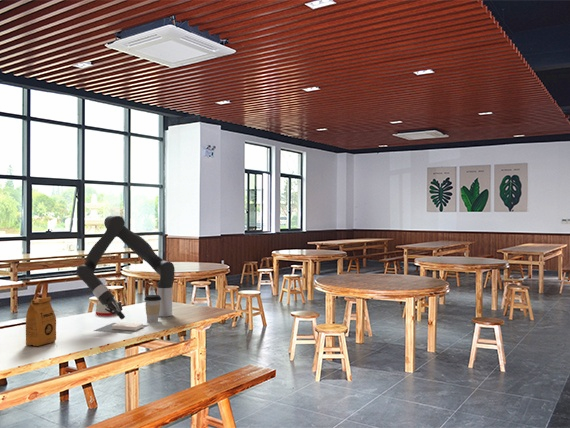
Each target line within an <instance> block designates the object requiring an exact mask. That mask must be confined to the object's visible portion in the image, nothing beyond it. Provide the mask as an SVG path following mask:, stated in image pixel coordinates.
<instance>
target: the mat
mask: <svg viewBox="0 0 570 428" xmlns="http://www.w3.org/2000/svg"><path fill="white" fill-rule="evenodd" d="M116 323H117V322H112V323H109V324H106V325H104V326H101V327H99V328H97V329H94V330H93V332H99V333H101V332H102V333H114V334H127V335H131V334H134V333H136V332H138V331H141V330H143V329H144V328H147V327H149V324H143V327H142V328H141V329H139V330H136V331H129V330H116V329H112V325H114V324H116Z"/></svg>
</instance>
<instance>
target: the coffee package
mask: <svg viewBox="0 0 570 428" xmlns="http://www.w3.org/2000/svg"><path fill="white" fill-rule="evenodd" d="M51 300H52V296H46V297H42V298H37V299H32V300H30V301H31V302H30V303H29V306H28V308H27V312H26V317H25V345H26V346H31V345H33V347H40V346H44V345H49V344H51V343H55V342H56V340H57V318H56V314H55V310H54V308H53V307H52V302H51Z"/></svg>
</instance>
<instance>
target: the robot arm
mask: <svg viewBox="0 0 570 428" xmlns="http://www.w3.org/2000/svg"><path fill="white" fill-rule="evenodd" d="M125 223H126V222H125V219H124V217H122V216H120V215H109V216H106V217H105V219H104V222H103V224H104V227H105V229H106V230H105V232H104V233H103V234H102V236H101V237H100V238H99V239H98V241H97V242H95V244H94V245H93V246H92V247H91V249H90V251H89V252H88V253H87V255H86V256H85V258H86V259H85V261H84V262H85V263H84V264H80V265H79V266H78V267H77V268H76V274H77V276H78V277H79V279H80V280H81V281H83V283H85V284H86V286H87V287H88V288H89V290H90V291H91V292H92V293H93V295H94V297H95V298H96V299H97V300H98V302H99V301H100V303H101V304H102V305H105V306H106V308H105V310H106V311H108V312H110V313H112V314H116V315H117V317H118V318H119V319H120V320H124V319H125V318H126V316H125V314H124V313H123V312H122V311H123V306H122V302H120V301H117V302H119V303H117V302H116V300H117V299H116V300H114V298H115V295H114V293H112V291H111V292H110V290H111V289H110V288H109V287H107V285H105V284H104V283H103V282H102V280H101V279H100V278H98V276H97V275H96V274H95V271H96V269H97V267H98V264H99V262H100V261H101V259H102V257H103V255H104V254H105V253H106V252H107V251H106V250H107V249H108V248H109V246H110V245H111V244H112V243H113V241H114V240H115V238H116V237H117V238H119V239H120V240H121V241H122V242H123V243H124V244H125V245H126V246H127V247H128V249H130V250H131V251H132V252H133V253H135V255H136V256H138V257H139V258H141V259H142V260H143V261H145V262H146V263H147V264H148V265H149V266H150V267H151V268H152V269H153V270H154V272H155V273H156V274H158V275H160V277H159V281H157V284H156V287H157V288H156V289H157V290H156V293H157V294H156V295H159V296H160V297H161V300H160V311H159V318H160V317H164V318H165V317H171V316H172V315H173V291H174V290H173V288H174V287H173V286H174V282H175V272H176V270H175V264H174V263H173V262H171V261H167V260H164V259H163V258H161V257H160V256H159V255H158V254H157V253H156V252H155V251H154V249H153V247H152V246H151V245H150V243H148V241H147V240H145V239H144V238H143V237H142V236H140V234H137V233H135V232H133V231H132V230H130V229H129V228H128V227H126V225H125ZM109 289H110V290H109Z"/></svg>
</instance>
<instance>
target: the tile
mask: <svg viewBox="0 0 570 428" xmlns="http://www.w3.org/2000/svg"><path fill="white" fill-rule="evenodd" d="M115 323H116V324H114V325H112V329H116V330H129V331H136V330H138V331H140V330H142V329H141V328H142V327H143V325H144V324H143V323H137V322H136V323H135V322H120V321H119V322H115ZM139 329H140V330H139ZM136 332H137V331H136Z"/></svg>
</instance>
